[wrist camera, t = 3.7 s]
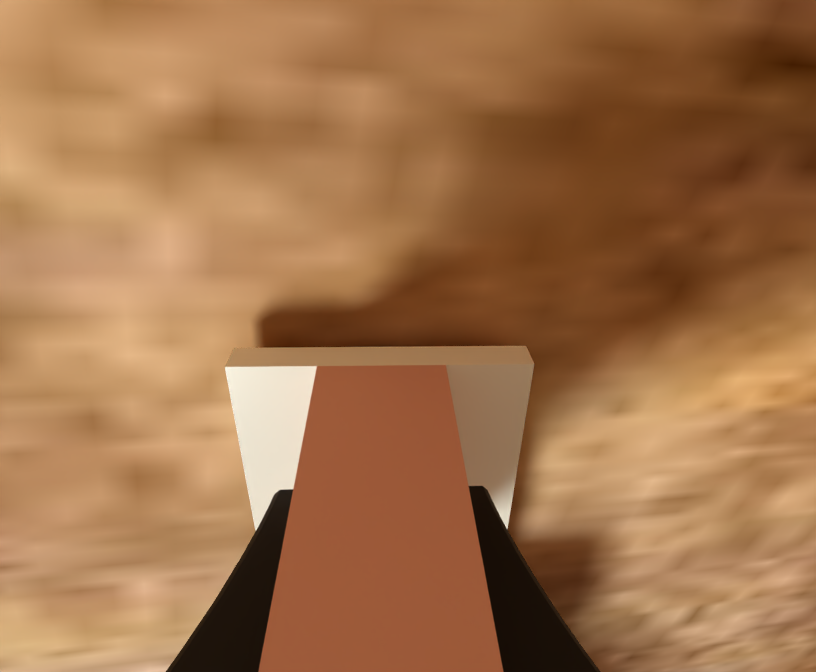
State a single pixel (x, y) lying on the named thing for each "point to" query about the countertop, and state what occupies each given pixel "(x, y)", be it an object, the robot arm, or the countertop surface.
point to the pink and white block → (380, 498)
